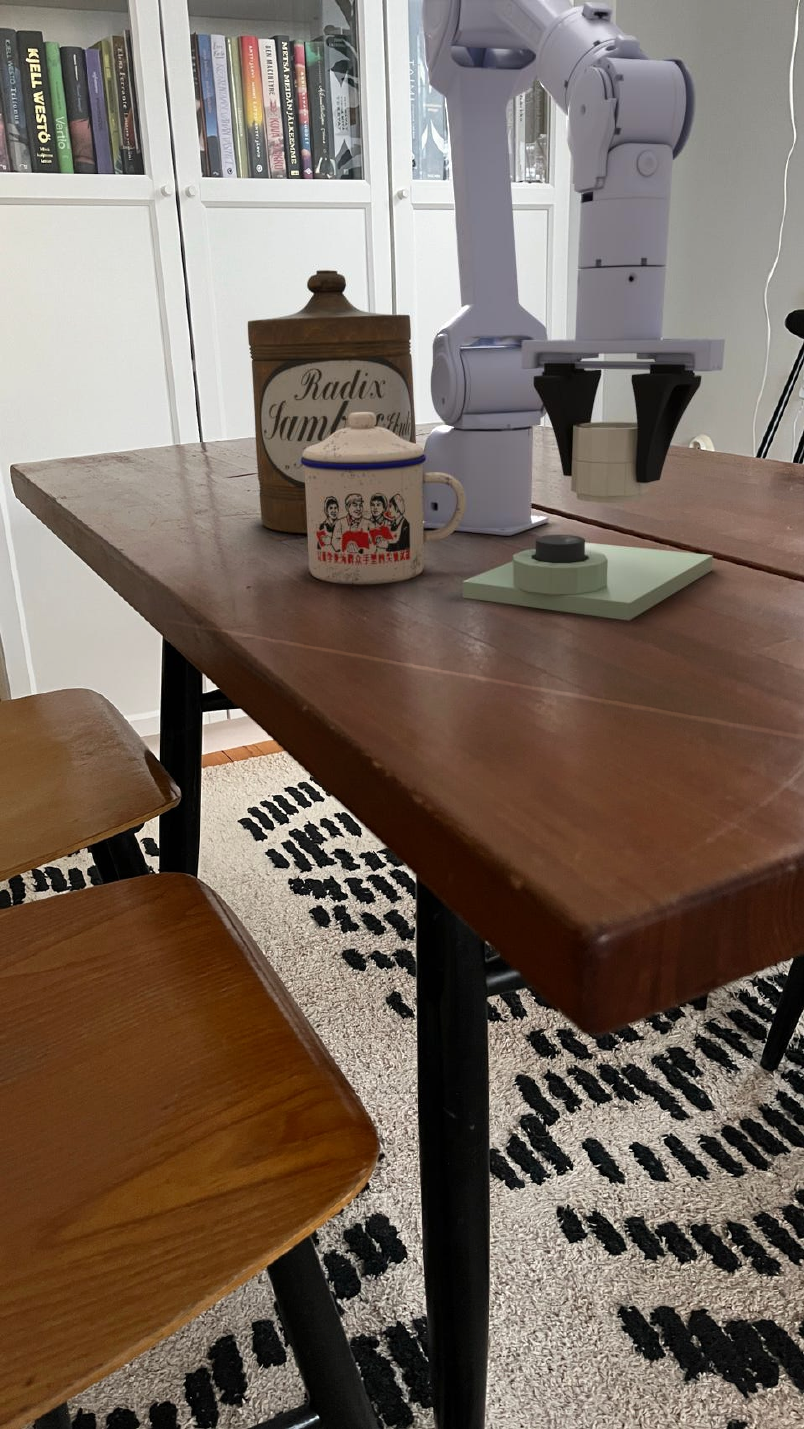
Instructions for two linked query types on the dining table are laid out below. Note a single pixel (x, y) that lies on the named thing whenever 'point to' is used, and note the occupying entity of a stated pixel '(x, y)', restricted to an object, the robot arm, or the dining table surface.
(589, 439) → the cup
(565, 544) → the button
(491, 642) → the dining table surface
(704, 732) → the dining table surface
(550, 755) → the dining table surface
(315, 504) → the teacup with lid
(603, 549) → the scale
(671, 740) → the dining table surface
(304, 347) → the wooden container
